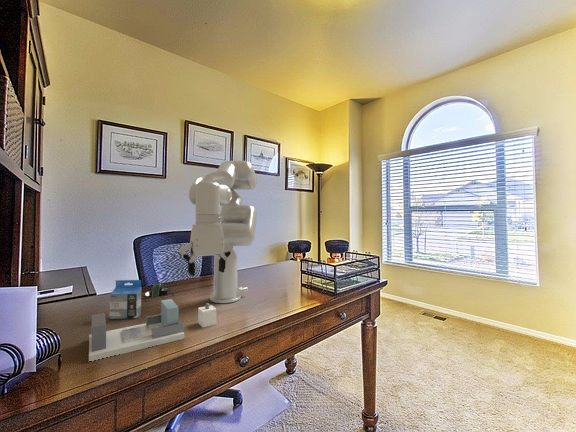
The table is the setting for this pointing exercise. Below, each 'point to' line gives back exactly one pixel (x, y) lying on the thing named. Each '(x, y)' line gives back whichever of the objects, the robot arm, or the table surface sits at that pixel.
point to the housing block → (207, 315)
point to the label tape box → (126, 300)
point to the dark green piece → (160, 290)
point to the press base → (118, 346)
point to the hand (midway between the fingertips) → (207, 273)
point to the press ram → (169, 312)
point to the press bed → (131, 330)
